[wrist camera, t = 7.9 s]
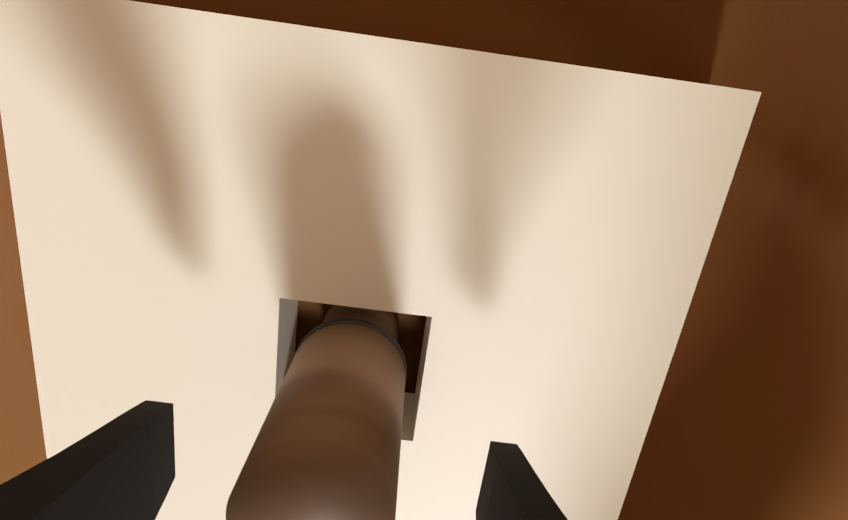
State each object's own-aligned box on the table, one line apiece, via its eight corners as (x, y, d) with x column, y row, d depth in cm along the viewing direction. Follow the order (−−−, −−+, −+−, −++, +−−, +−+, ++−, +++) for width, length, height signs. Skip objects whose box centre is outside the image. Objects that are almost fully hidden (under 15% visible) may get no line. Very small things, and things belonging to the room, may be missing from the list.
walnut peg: (403, 376, 18) (385, 594, 11) (308, 364, 18) (223, 576, 11) (415, 290, 17) (406, 465, 10) (315, 277, 17) (225, 444, 9)
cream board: (565, 561, 21) (582, 623, 19) (104, 511, 20) (61, 569, 18) (709, 87, 15) (761, 92, 13) (56, -7, 14) (-18, -21, 12)
